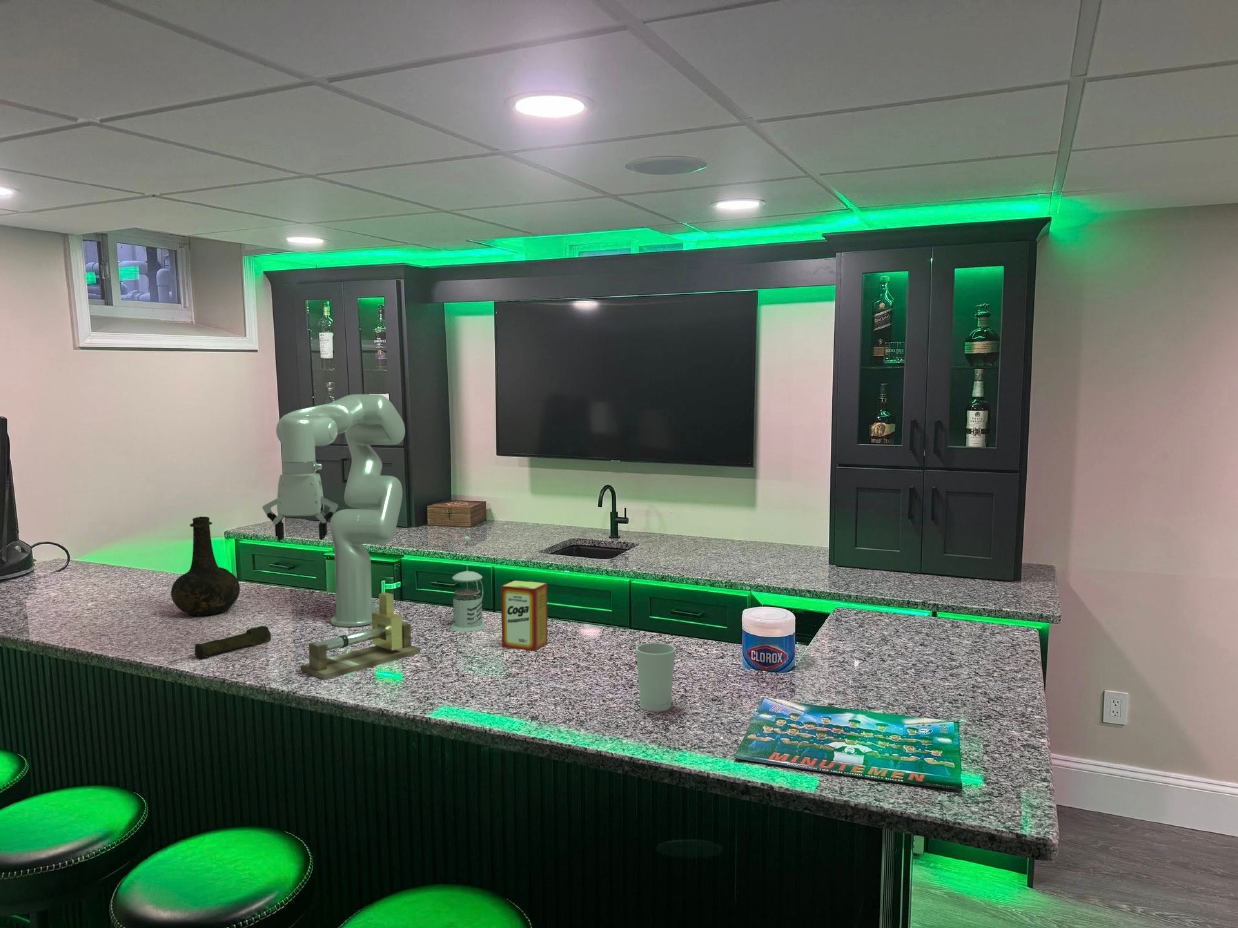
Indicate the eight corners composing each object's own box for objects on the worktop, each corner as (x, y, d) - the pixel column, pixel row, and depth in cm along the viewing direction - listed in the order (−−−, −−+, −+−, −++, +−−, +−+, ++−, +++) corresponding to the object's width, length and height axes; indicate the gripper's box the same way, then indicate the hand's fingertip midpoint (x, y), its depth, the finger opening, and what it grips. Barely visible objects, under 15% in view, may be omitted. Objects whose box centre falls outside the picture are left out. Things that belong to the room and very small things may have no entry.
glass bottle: (253, 607, 254) (250, 514, 252) (206, 622, 237) (202, 523, 235) (206, 602, 260) (203, 511, 257) (157, 617, 243) (153, 519, 240)
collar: (382, 641, 211) (381, 590, 210) (402, 647, 206) (401, 595, 205) (372, 643, 209) (371, 592, 208) (391, 650, 204) (390, 597, 203)
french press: (442, 629, 230) (441, 537, 228) (465, 618, 241) (464, 531, 239) (473, 632, 227) (472, 540, 225) (496, 622, 237) (495, 533, 235)
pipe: (400, 630, 212) (400, 619, 212) (407, 632, 210) (407, 621, 210) (312, 652, 194) (312, 640, 194) (319, 655, 192) (318, 643, 192)
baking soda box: (502, 646, 214) (501, 584, 213) (514, 639, 220) (513, 579, 219) (535, 651, 211) (535, 587, 209) (547, 643, 217) (546, 582, 215)
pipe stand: (396, 645, 216) (395, 618, 215) (420, 652, 209) (419, 625, 209) (300, 670, 196) (299, 641, 195) (324, 679, 189) (323, 649, 189)
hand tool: (201, 661, 203) (200, 642, 203) (193, 658, 206) (193, 639, 205) (276, 643, 218) (275, 626, 217) (268, 641, 220) (267, 623, 220)
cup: (634, 699, 177) (634, 643, 176) (671, 698, 178) (672, 642, 177) (638, 713, 169) (638, 654, 168) (677, 712, 170) (678, 653, 169)
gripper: (339, 467, 209) (341, 535, 211) (266, 467, 207) (268, 537, 209) (333, 470, 202) (335, 541, 203) (256, 470, 200) (259, 542, 201)
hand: (301, 539), depth 206 cm, fingers open, 9 cm apart
